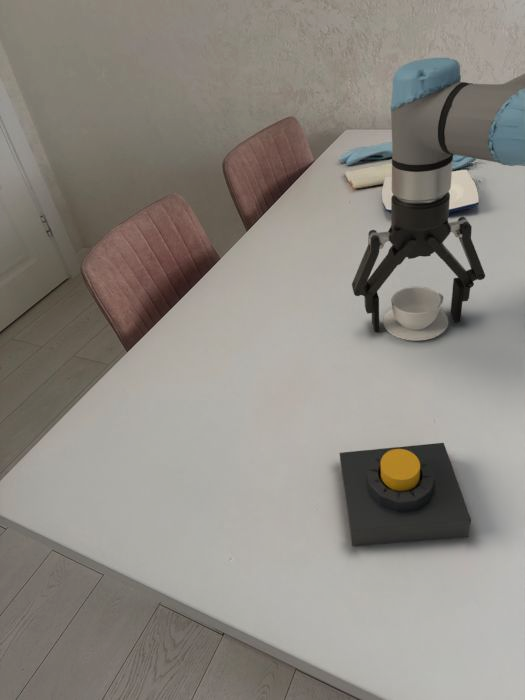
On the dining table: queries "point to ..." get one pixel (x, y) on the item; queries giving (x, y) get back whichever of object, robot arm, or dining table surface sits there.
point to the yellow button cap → (400, 469)
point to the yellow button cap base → (403, 499)
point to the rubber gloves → (380, 172)
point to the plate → (460, 192)
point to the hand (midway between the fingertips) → (415, 322)
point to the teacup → (416, 314)
